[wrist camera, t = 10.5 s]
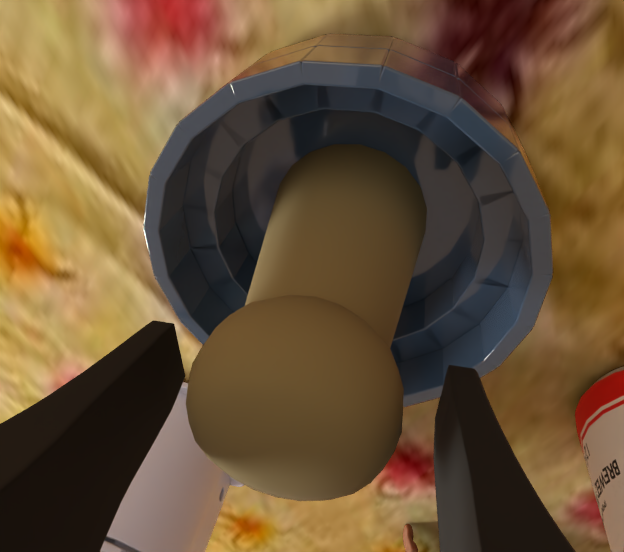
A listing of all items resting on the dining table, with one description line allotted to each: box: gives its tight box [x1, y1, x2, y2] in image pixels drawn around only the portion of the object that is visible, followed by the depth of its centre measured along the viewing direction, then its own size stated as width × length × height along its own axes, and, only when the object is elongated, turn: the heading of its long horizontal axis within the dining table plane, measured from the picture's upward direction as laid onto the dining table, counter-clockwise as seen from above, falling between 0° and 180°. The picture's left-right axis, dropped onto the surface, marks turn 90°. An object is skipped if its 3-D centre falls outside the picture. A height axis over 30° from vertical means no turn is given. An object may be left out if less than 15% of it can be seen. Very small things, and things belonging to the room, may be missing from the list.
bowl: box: [143, 34, 553, 407], centre depth 18 cm, size 13×13×4 cm
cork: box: [186, 144, 427, 501], centre depth 15 cm, size 6×6×11 cm
